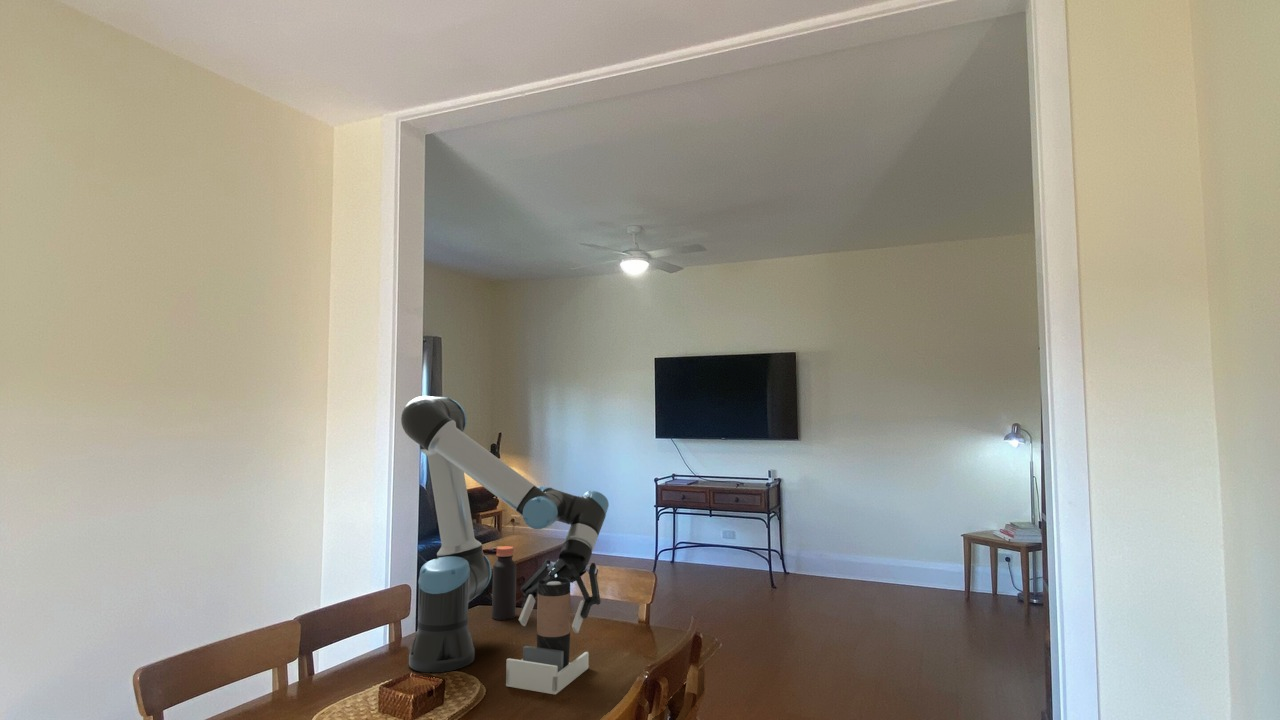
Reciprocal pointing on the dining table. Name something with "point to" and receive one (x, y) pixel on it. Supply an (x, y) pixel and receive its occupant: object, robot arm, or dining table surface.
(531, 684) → the white open box
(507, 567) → the bottle
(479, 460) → the robot arm
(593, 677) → the dining table surface
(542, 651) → the block
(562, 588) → the travel mug
